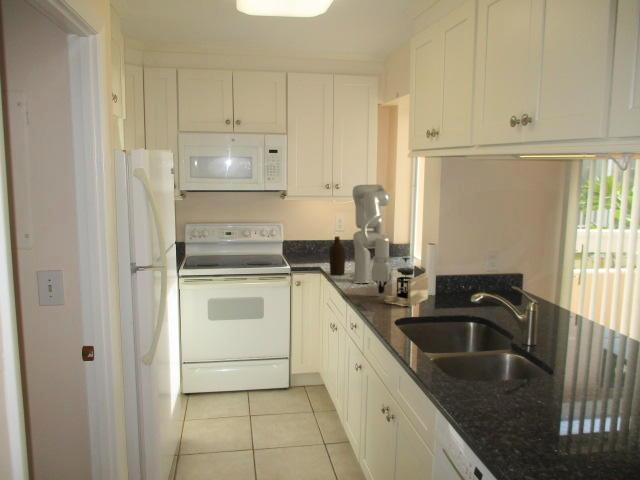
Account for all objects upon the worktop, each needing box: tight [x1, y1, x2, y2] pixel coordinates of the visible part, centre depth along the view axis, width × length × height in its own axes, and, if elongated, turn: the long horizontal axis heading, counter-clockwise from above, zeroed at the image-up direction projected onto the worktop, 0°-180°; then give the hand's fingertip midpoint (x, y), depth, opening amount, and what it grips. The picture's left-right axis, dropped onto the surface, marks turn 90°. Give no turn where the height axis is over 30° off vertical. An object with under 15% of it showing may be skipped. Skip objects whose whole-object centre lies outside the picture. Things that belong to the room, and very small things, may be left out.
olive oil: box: [328, 236, 346, 276], centre depth 321 cm, size 11×11×25 cm
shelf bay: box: [383, 272, 429, 306], centre depth 255 cm, size 15×21×14 cm
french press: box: [396, 257, 415, 299], centre depth 255 cm, size 12×9×23 cm
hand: (381, 292), depth 265 cm, fingers closed
